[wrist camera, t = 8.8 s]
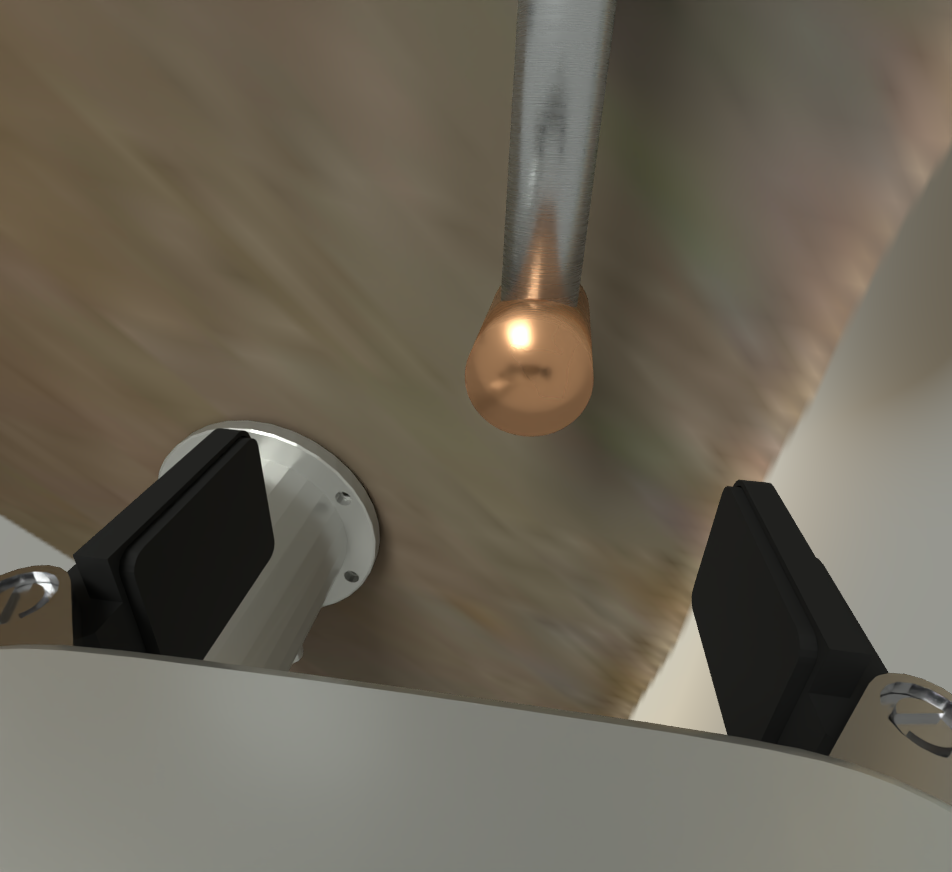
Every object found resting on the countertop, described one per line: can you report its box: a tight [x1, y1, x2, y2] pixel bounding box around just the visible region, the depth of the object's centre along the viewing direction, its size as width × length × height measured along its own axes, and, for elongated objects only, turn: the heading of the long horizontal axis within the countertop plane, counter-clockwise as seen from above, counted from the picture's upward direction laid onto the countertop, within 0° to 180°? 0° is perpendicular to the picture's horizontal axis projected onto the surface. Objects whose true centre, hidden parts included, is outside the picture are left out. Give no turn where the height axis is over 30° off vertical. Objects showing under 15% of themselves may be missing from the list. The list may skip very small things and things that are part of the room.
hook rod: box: [465, 0, 617, 436], centre depth 14 cm, size 20×4×6 cm, turn 178°
